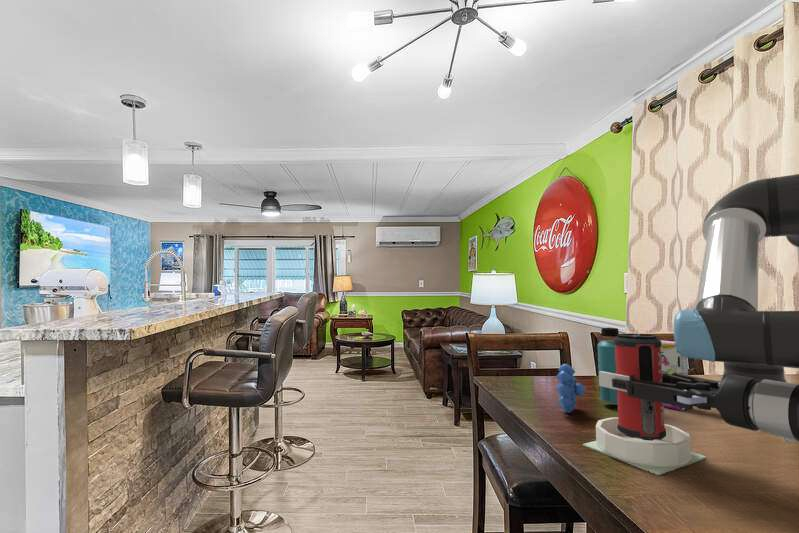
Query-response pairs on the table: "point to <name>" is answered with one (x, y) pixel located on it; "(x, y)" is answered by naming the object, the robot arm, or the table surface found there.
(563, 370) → the grapes
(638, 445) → the bowl
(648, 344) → the speaker
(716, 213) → the robot arm
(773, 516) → the table surface
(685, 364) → the candy bar box
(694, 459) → the mat
